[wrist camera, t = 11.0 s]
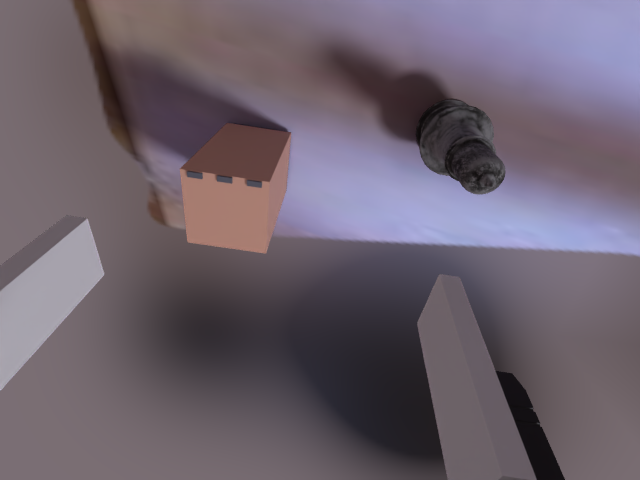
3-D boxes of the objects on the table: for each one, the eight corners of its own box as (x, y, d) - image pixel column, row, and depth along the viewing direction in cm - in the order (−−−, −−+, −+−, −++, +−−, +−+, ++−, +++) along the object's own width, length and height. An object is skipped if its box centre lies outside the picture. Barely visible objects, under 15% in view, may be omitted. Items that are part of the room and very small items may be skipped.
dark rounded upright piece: (432, 85, 29) (477, 125, 20) (493, 109, 30) (565, 159, 20) (401, 148, 33) (426, 210, 23) (457, 169, 33) (504, 237, 24)
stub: (227, 122, 32) (179, 169, 23) (291, 132, 32) (269, 183, 23) (228, 181, 35) (186, 243, 26) (286, 190, 36) (265, 254, 26)
